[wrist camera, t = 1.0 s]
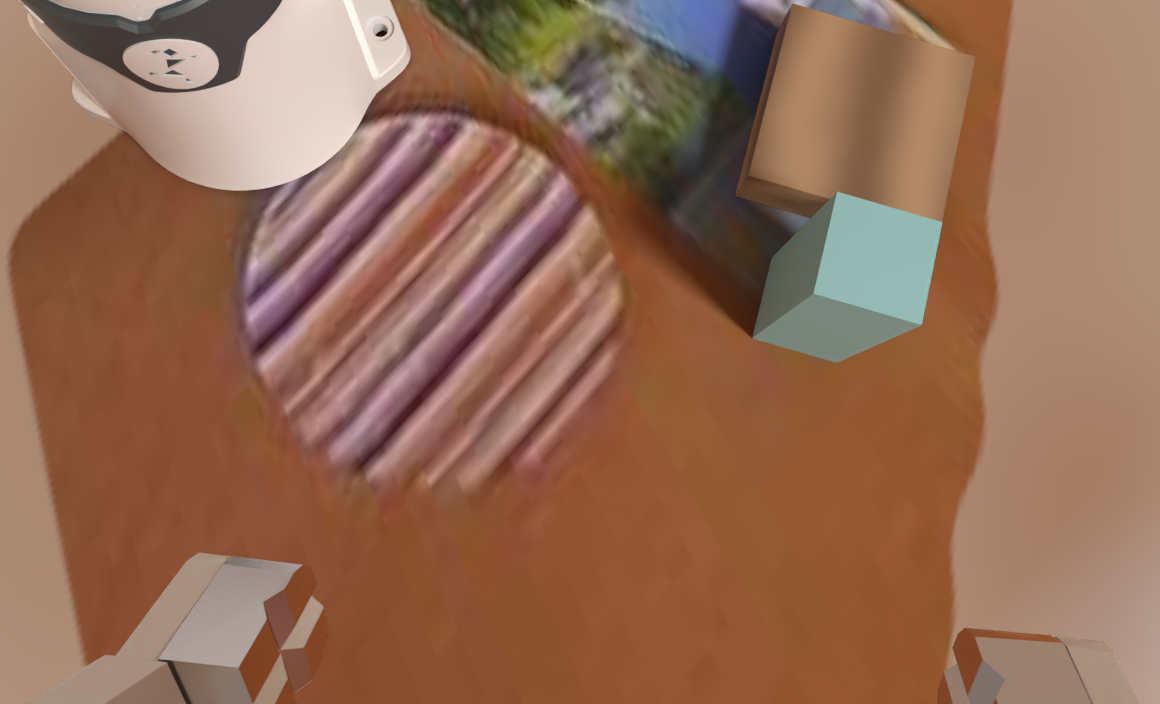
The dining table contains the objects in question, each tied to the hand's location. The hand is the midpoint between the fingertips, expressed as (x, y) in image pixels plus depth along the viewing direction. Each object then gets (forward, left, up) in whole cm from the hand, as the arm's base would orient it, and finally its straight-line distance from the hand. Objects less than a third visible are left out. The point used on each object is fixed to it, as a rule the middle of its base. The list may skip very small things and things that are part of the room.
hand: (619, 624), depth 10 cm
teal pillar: (-9, +16, -33) cm, 38 cm away
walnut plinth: (-19, +21, -33) cm, 43 cm away
